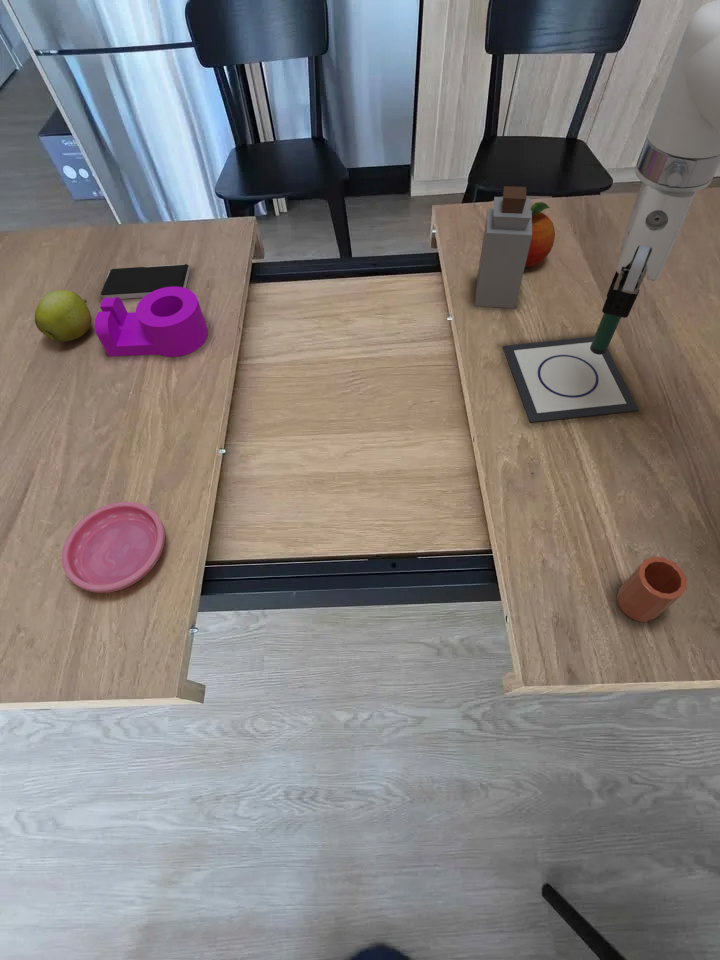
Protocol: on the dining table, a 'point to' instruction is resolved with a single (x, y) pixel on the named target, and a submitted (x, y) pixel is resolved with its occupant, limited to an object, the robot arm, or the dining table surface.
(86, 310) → the apple
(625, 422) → the dining table surface
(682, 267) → the dining table surface
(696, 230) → the dining table surface
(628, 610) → the pen pot
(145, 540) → the saucer
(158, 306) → the tape dispenser
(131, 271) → the smartphone
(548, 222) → the fruit
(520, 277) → the perfume bottle
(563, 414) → the target board
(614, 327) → the marker
